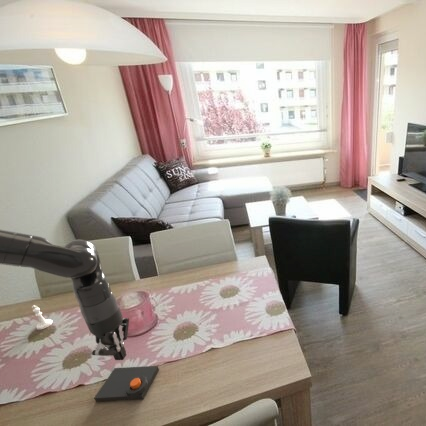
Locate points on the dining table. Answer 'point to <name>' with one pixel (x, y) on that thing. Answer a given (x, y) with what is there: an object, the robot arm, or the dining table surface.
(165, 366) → the dining table surface
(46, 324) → the chess piece
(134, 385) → the button
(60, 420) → the dining table surface
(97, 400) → the dark grey flat block
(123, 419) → the dining table surface
